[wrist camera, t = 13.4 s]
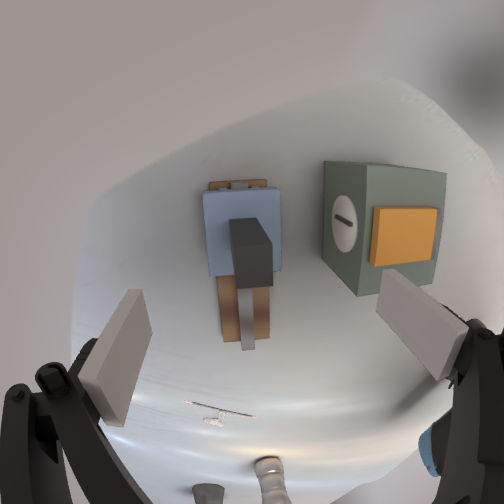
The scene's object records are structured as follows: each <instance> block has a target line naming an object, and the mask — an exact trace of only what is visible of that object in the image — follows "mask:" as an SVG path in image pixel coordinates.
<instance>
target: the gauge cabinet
mask: <svg viewBox="0 0 504 504" xmlns="http://www.w3.org/2000/svg"><path fill="white" fill-rule="evenodd" d="M446 175H447V173H443V172H437V171H431V170H425V169H418V168H411V167H404V166H396V165H385V164H372V163H356V162H334V161H324V224H323V249H322V260H323V261H324V262H325V263H326V264H327V265H328V266H329V267H330V268H331V269H332V270H333V271H334V272H335V273H336V275H337V276H338V277H339V278H340V279H341V280H342V281H343V282H344V283H345V284H346V285H347V286H348V287H349V289H350V290H351V291H352V292H353V293H354V294H355V295H356V296H357V297H358V296H365V295H371V294H377V293H379V292H380V286H381V279H382V273H383V270H385V269H395V270H396V271H398V272H399V273H400V274H402V275H403V276H404V277H406V278H407V279H408V280H410V281H411V282H412V283H414V284H415V285H416V286H422V285H427V284H432V281H433V277H434V272H435V267H436V262H437V256H438V251H439V245H440V238H441V231H442V224H443V215H444V205H445V193H446ZM374 207H436V208H440V209H442V212H441V221H440V229H439V236H438V243H437V249H436V255H435V259H433V260H423V261H415V262H408V263H400V264H392V265H384V266H373V265H372V264H371V263H369V260H370V251H371V241H372V230H373V217H374Z"/></svg>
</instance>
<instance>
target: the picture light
mask: <svg viewBox="0 0 504 504" xmlns="http://www.w3.org/2000/svg"><path fill="white" fill-rule="evenodd" d="M183 401H185V402H186V403H189V404H192V405H195V406H199V407H203V408H207V409H211V410H215V411H219V412H218V413H222V414H224V416H225V414H226V413H228V414H233V415H237V416H242V417H248V418H252V419H253V418H254V419H256V418H258V417H256V416H251V415H246V414H241V413H236V412H231V411H227V410H222V409H218V408H214V407H210V406H206V405H202V404H198V403H195V402H192V401H187V400H183ZM219 417H220V414H219ZM223 420H224V418H223ZM223 420H222V421H220V420H219V418H218V419H215V418H213V419H211V418H204V420H203V421H204V422H206V424H212V425H217V426H220V427H222V426H224V425H225V424H226V423H225V422H223Z"/></svg>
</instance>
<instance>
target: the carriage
mask: <svg viewBox="0 0 504 504" xmlns="http://www.w3.org/2000/svg"><path fill="white" fill-rule="evenodd" d="M202 195H203V209H204V221H205V233H206V244H207V255H208V265H209V274H210V276H223V275H234V276H235V283H236V289H246V288H258V287H269V286H273V271H281V209H280V189H278V188H276V187H267V188H260V187H259V186H250V188H245V189H227V188H219V190H214V191H204V192H203V194H202Z"/></svg>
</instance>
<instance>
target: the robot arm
mask: <svg viewBox="0 0 504 504" xmlns="http://www.w3.org/2000/svg"><path fill="white" fill-rule="evenodd" d="M376 312H377V313H378V314H379V315H380V317H381V318H382V319H383V320H384V321H385V322H386V323H387V324H388V325H389V326H390V328H391V329H392V330H393V331H394V332H395V333H396V334H397V335H398V336H399V338H400V339H401V340H402V341H403V342H404V343H405V344H406V346H407V347H408V348H409V349H410V350H411V351H412V352H413V354H414V355H415V356H416V357H417V358H418V359H419V361H420V362H421V363H422V364H423V365H424V366H425V368H426V369H427V370H428V371H429V372H430V374H431V375H432V376H433V377H434V378H435V380H436V381H439V380H442V379H444V378H446V379H448V380H450V381H451V383H450V385H449V387H448V389H450V388H451V386H452V385H453V384H454V388H453V389H454V392H453V407H452V408H451V409H450V410H449V411H447V412H446V413H445V414H444V415H443V416H442V417H441V418H440V419H438V420H437V421H436V422H434V423H433V424H432V425H431V426H430V427H429V428H428V429H427V430H426V431H425V432H424V433H422V435H421V436H420V438H419V442H418V446H419V451H420V455H421V458H422V460H423V463H424V465H425V466H426V467H427V470H428V472H429V473H430V474H431V475H432V476H433V477H437V476H441V480H440V484H439V488H438V491H437V495H436V497H435V500H434V501H433V503H432V504H504V328H503V331H502V333H501V334H500V335H495V334H494V333H493V332H492V331H490V330H489V329H487V328H486V326H485V325H484V324H483V323H482V322H481V321H479V320H478V319H473V320H470V321H468V322H467V323H466V322H465V321H464V320H463V319H461V318H460V317H458V315H457V314H455V313H453V311H452V310H450V309H449V308H448V307H446V306H444V305H442V304H440V303H439V302H437V301H436V300H435V299H433V298H432V297H431V296H430V295H428V294H427V293H426V292H424V291H423V290H422V289H420V288H419V287H418V286H416V285H415V284H414V283H412V282H411V281H410V280H408V279H407V278H406V277H404V276H403V275H402V274H400V273H399V272H398V271H396V270H395V269H385V270H383V273H382V279H381V286H380V292H379V298H378V303H377V309H376ZM151 336H152V329H151V326H150V322H149V318H148V314H147V309H146V305H145V301H144V296H143V292H142V289H137V290H128V292H127V293H126V295H125V296H124V298H123V299H122V301H121V303H120V304H119V306H118V307H117V309H116V310H115V312H114V314H113V315H112V317H111V319H110V320H109V322H108V323H107V325H106V327H105V328H104V330H103V332H102V333H101V335H100V337H99V339H96V338H92V339H91V340H89V341H88V342H87V343H86V344H85V345H84V346H83V348H82V349H81V351H80V354H78V356H77V357H76V360H75V361H74V363H73V364H72V366H71V368H70V370H69V371H68V373H67V371H66V369H65V367H64V366H63V364H61V363H58V362H51V363H47V364H46V365H43V366H42V367H41V368H40V369H39V370H38V371H37V373H36V375H35V380H36V382H37V384H38V385H39V387H40V388H41V390H42V392H39V393H32V392H31V390H30V389H29V387H28V386H27V385H25V384H16V385H14V386H12V387H11V388H10V389H9V390H8V391H7V393H6V395H5V400H4V407H3V415H2V424H1V434H0V494H1V504H73V503H72V499H71V495H70V490H69V486H68V481H67V476H66V471H65V465H64V458H63V451H62V448H63V450H64V452H65V455H66V457H67V459H68V462H69V464H70V466H71V468H72V470H73V473H74V475H75V476H76V479H77V481H78V483H79V485H80V486H81V489H82V490H83V492H84V494H85V496H86V498H87V499H88V501H89V503H90V504H153V503H152V502H151V500H150V499H149V498H148V497H147V496H146V494H145V493H144V492H143V491H142V489H141V488H140V487H139V485H138V484H137V483H136V481H135V480H134V479H133V477H132V476H131V475H130V473H129V472H128V470H127V469H126V467H125V466H124V465H123V463H122V462H121V460H120V459H119V457H118V455H117V454H116V452H115V451H114V449H113V448H112V446H111V444H110V443H109V441H108V439H107V438H106V436H105V434H104V433H103V431H102V429H101V427H100V426H99V424H98V423H99V420H100V417H101V418H102V419H103V421H104V422H105V424H106V425H109V426H116V427H124V423H125V419H126V416H127V412H128V409H129V405H130V402H131V398H132V395H133V392H134V388H135V385H136V382H137V379H138V375H139V372H140V369H141V366H142V363H143V360H144V357H145V354H146V351H147V348H148V345H149V342H150V339H151Z"/></svg>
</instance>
